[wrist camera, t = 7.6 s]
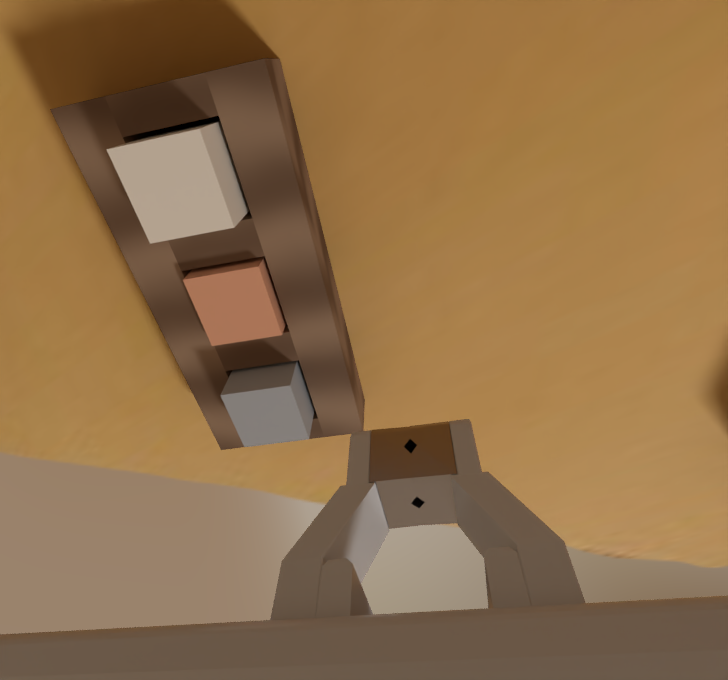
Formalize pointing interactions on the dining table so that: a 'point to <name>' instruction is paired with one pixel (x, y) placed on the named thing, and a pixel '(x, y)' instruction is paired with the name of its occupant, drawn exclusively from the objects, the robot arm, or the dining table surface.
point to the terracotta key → (236, 301)
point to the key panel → (230, 236)
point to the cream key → (181, 182)
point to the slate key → (269, 403)
